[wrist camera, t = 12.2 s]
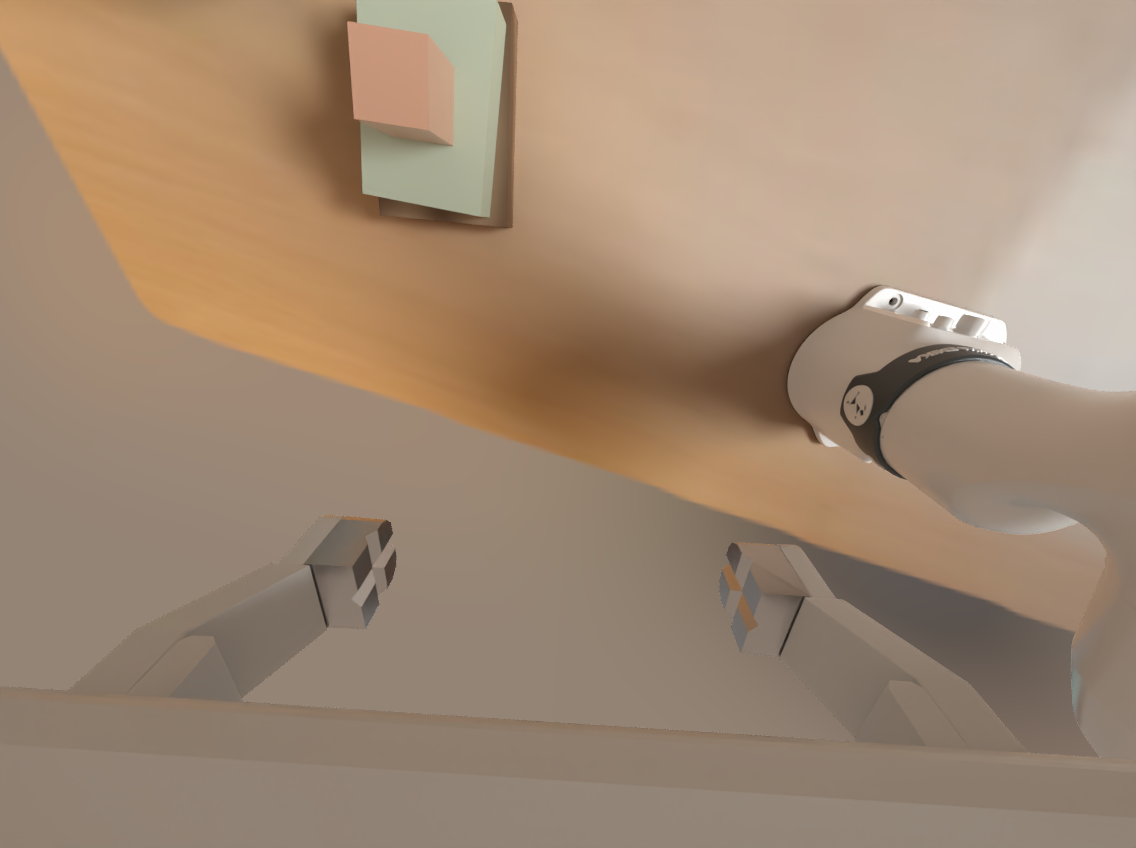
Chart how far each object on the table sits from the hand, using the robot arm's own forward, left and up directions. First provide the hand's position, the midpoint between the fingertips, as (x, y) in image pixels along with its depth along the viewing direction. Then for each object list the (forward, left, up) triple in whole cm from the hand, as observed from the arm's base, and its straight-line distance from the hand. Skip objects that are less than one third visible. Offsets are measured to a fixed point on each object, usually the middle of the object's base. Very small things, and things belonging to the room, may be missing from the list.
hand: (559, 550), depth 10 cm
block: (+13, -15, -32) cm, 37 cm away
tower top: (+13, -15, -36) cm, 41 cm away
